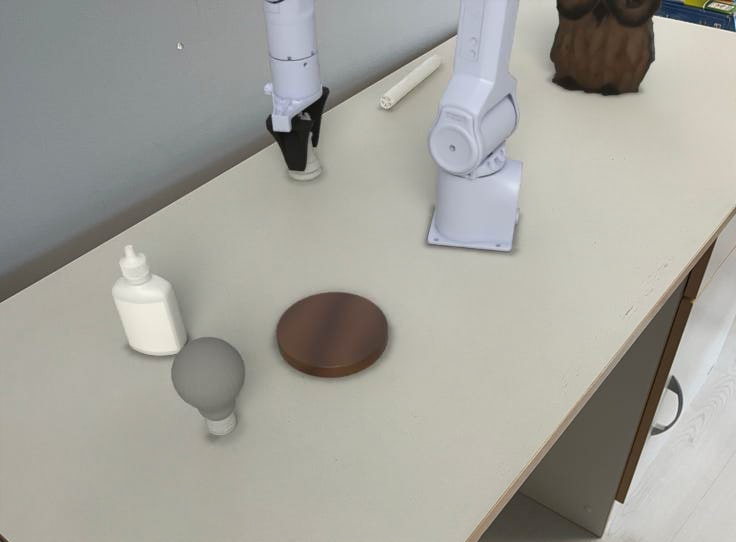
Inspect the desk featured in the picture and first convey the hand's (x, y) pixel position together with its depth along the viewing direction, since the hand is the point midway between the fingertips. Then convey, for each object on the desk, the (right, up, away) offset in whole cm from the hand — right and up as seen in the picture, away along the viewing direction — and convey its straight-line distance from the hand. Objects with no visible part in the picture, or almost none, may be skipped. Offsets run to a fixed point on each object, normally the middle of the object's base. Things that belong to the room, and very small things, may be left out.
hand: (303, 157), depth 92 cm
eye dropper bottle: (-13, -25, -20) cm, 35 cm away
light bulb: (-5, -32, -28) cm, 43 cm away
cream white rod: (+16, +17, +19) cm, 30 cm away
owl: (+45, +17, +18) cm, 51 cm away
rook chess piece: (0, -2, +2) cm, 3 cm away
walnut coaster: (+4, -24, -21) cm, 32 cm away
